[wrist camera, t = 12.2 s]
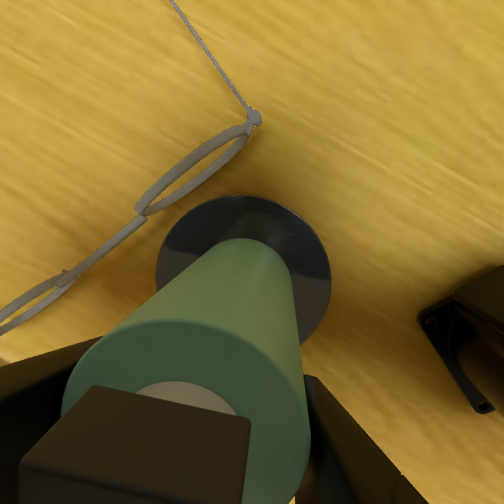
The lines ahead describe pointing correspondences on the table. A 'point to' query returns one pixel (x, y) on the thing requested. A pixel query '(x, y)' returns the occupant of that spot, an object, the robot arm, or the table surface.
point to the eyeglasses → (143, 203)
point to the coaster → (260, 229)
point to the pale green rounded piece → (186, 396)
